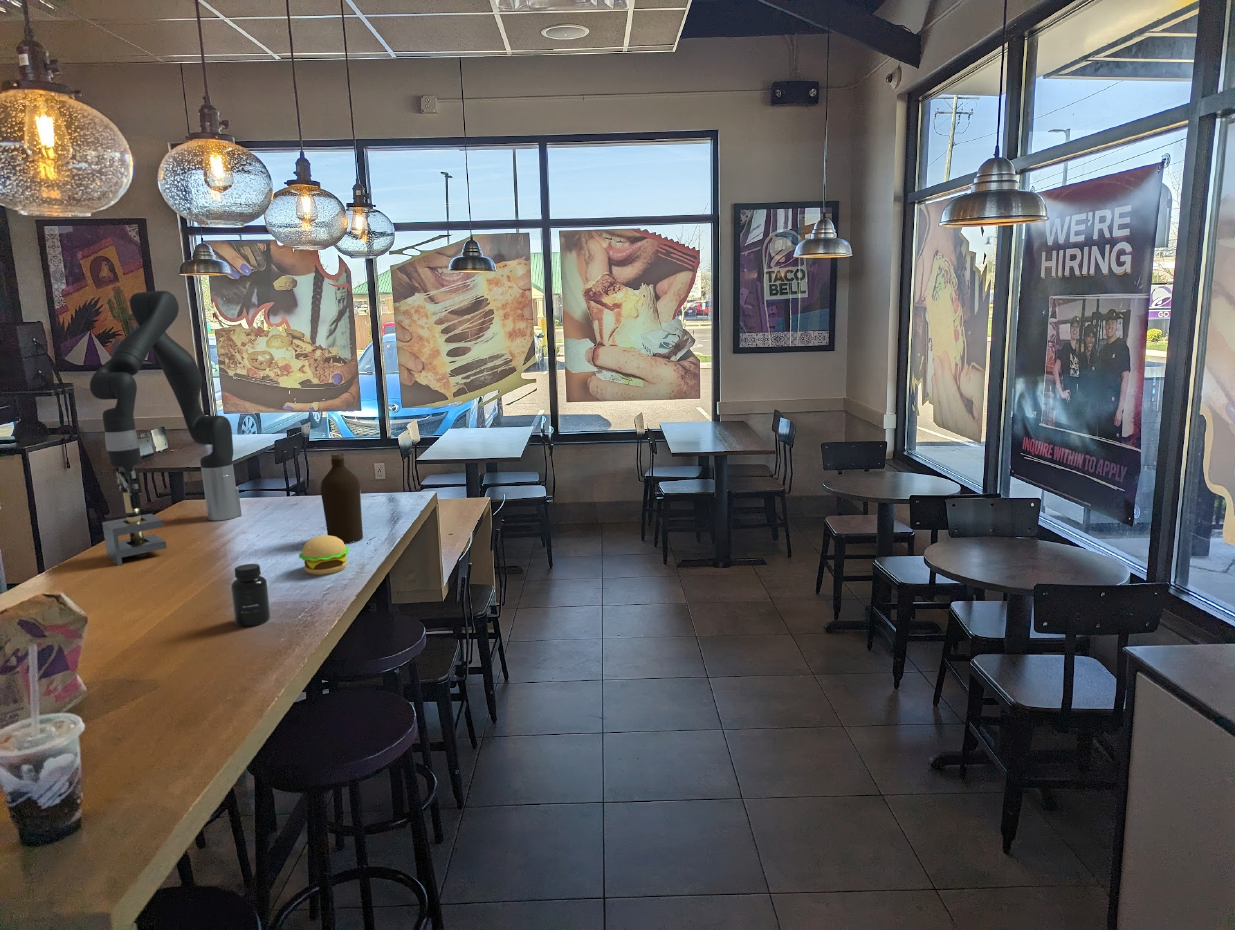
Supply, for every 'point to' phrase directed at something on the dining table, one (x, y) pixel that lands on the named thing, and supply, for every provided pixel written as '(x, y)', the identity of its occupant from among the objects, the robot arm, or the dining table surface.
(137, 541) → the brass tube
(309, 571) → the hamburger
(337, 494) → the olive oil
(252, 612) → the supplement bottle
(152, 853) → the dining table surface
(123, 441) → the robot arm
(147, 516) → the collar stand
